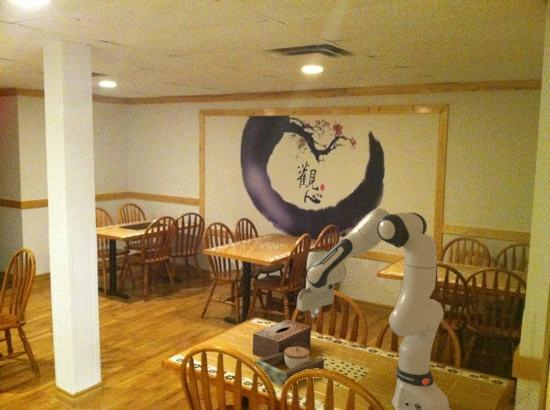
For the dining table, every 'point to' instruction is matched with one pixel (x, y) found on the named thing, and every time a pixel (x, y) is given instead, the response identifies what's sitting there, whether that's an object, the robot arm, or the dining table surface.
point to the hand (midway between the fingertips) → (314, 317)
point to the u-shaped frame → (278, 360)
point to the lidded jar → (296, 356)
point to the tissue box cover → (281, 338)
